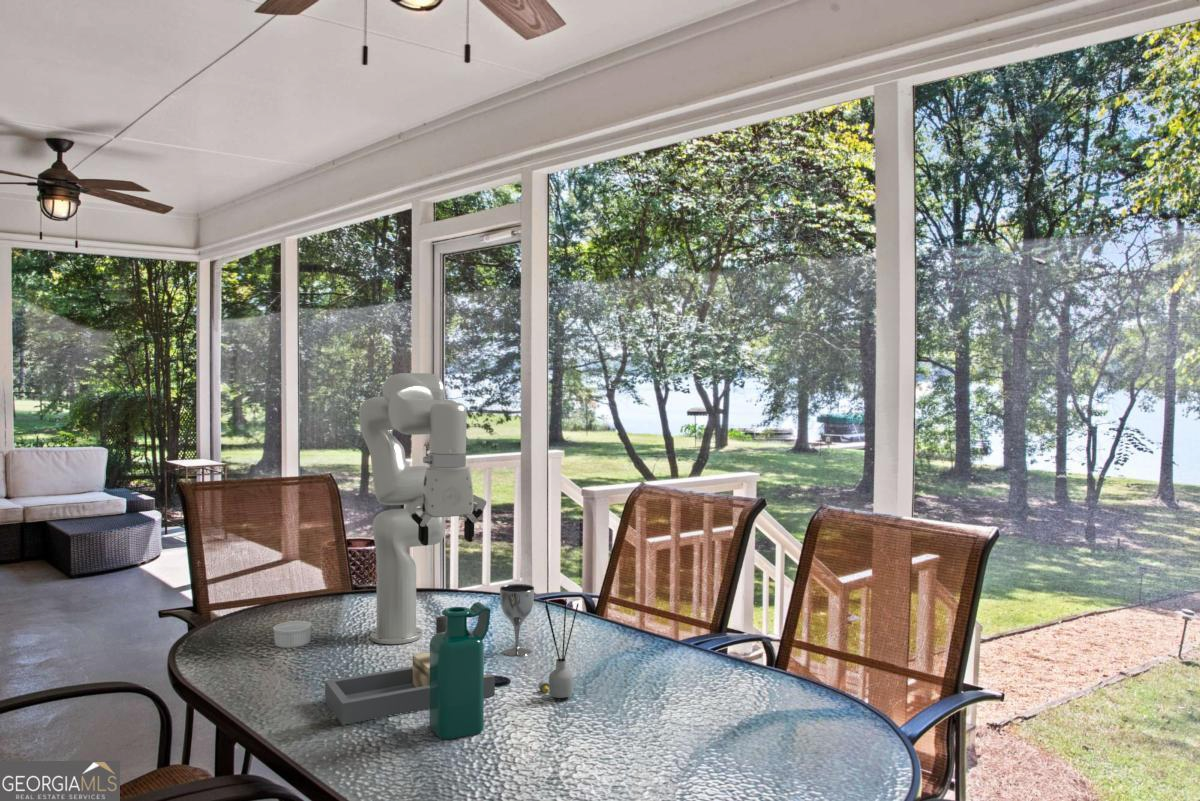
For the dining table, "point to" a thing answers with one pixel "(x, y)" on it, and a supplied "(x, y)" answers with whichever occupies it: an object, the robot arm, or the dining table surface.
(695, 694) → the dining table surface
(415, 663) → the rubber stamp
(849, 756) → the dining table surface
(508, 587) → the wine glass
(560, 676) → the reed diffuser
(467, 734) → the pitcher
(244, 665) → the dining table surface
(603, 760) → the dining table surface
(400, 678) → the bay
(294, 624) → the ramekin
